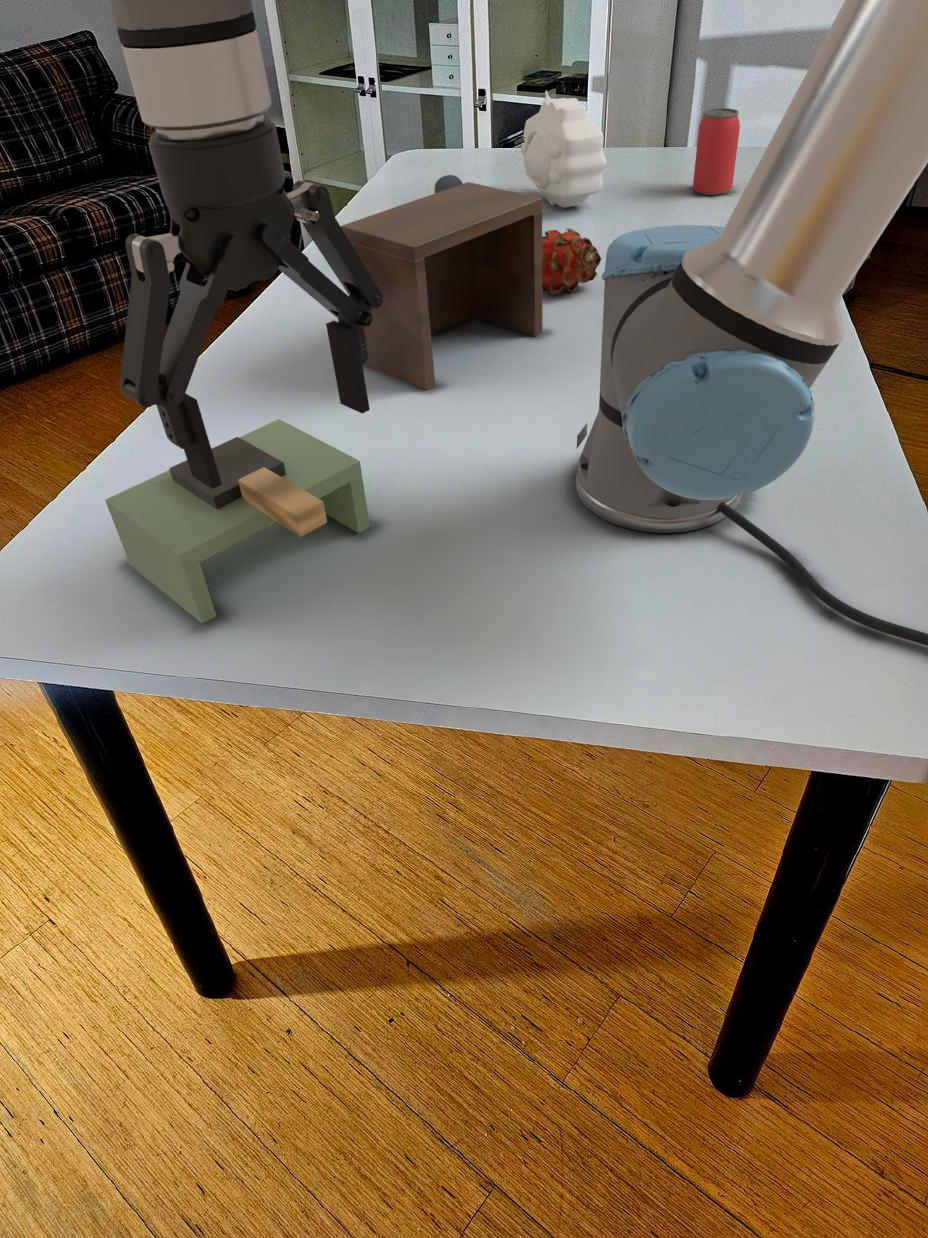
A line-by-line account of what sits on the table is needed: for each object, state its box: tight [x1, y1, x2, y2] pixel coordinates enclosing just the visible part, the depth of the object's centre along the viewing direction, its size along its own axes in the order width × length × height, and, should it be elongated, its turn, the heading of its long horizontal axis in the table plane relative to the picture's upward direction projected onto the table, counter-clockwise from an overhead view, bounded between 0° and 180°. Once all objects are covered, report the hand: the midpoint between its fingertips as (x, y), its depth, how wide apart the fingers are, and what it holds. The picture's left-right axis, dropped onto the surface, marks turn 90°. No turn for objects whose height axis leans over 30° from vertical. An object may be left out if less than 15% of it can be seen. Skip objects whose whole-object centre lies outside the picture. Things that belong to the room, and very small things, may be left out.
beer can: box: [692, 107, 741, 196], centre depth 148 cm, size 7×7×12 cm
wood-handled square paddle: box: [168, 436, 328, 538], centre depth 73 cm, size 16×7×2 cm, turn 45°
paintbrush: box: [434, 174, 464, 194], centre depth 149 cm, size 20×5×5 cm, turn 38°
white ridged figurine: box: [520, 90, 607, 208], centre depth 146 cm, size 11×18×16 cm, turn 21°
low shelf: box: [104, 418, 371, 625], centre depth 78 cm, size 12×18×7 cm, turn 135°
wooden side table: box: [340, 181, 543, 391], centre depth 105 cm, size 12×20×16 cm, turn 135°
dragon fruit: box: [542, 227, 602, 296], centre depth 120 cm, size 8×8×12 cm
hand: (285, 442), depth 66 cm, fingers open, 13 cm apart
